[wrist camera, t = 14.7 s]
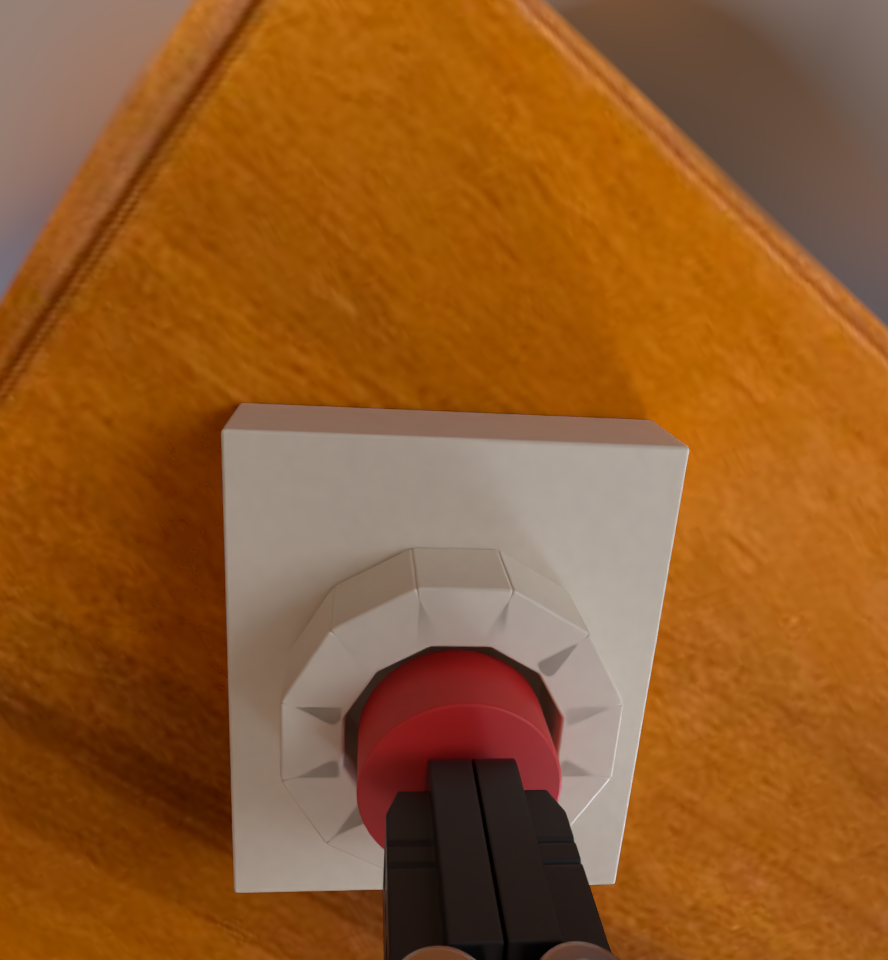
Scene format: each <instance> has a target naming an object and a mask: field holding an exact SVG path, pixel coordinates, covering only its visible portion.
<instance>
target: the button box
mask: <svg viewBox="0 0 888 960" xmlns="http://www.w3.org/2000/svg"><path fill="white" fill-rule="evenodd" d="M221 452H222V487H223V522H224V557H225V592H226V627H227V662H228V697H229V732H230V767H231V803H232V838H233V873H234V890H235V892H237V893H249V892H293V891H337V890H382V889H383V869H384V849H383V848H382V847H381V846H380V845H379V844H378V843H377V842H376V841H375V840H374V839H373V837H372V836H371V835H370V834H369V832H368V830H367V829H366V827H365V825H364V823H363V821H362V818H361V816H360V813H359V809H358V804H357V753H358V728H359V720H360V717H361V713H362V710H363V708H364V705H365V703H366V701H367V699H368V698H369V696H370V694H371V693H372V691H373V690H374V689H375V688H376V686H377V685H378V684H379V683H380V682H381V681H382V680H383V679H384V678H385V677H386V676H387V675H388V674H389V673H391V672H392V671H393V670H395V669H396V668H397V667H399V666H401V665H402V664H404V663H406V662H408V661H410V660H412V659H415V658H417V657H419V656H422V655H426V654H429V653H433V652H439V651H446V650H466V651H474V652H479V653H483V654H486V655H489V656H492V657H495V658H497V659H499V660H501V661H503V662H505V663H506V664H508V665H510V666H511V667H513V668H514V669H515V670H516V671H518V672H519V673H520V674H521V675H522V676H523V677H524V678H525V679H526V680H527V681H528V683H529V684H530V685H531V687H532V689H533V690H534V692H535V694H536V696H537V698H538V700H539V703H540V706H541V709H542V712H543V715H544V718H545V721H546V723H547V726H548V729H549V732H550V735H551V738H552V741H553V744H554V747H555V750H556V753H557V755H558V759H559V763H560V766H561V775H562V783H561V792H560V797H559V801H558V803H559V805H560V806H561V807H562V808H563V809H564V810H565V812H566V814H567V817H568V820H569V823H570V827H571V830H572V833H573V836H574V843H576V845H577V848H578V852H579V855H580V858H581V864H583V867H584V870H585V873H586V876H587V880H588V883H589V885H603V884H614V883H615V879H616V874H617V868H618V862H619V856H620V850H621V844H622V839H623V833H624V827H625V821H626V815H627V809H628V804H629V798H630V792H631V786H632V780H633V775H634V769H635V763H636V757H637V751H638V745H639V740H640V734H641V728H642V722H643V716H644V710H645V705H646V699H647V693H648V687H649V681H650V675H651V670H652V664H653V658H654V652H655V646H656V640H657V635H658V629H659V623H660V617H661V611H662V605H663V600H664V594H665V588H666V582H667V576H668V570H669V565H670V559H671V553H672V547H673V541H674V535H675V530H676V524H677V518H678V512H679V506H680V500H681V495H682V489H683V483H684V477H685V471H686V465H687V460H688V454H689V448H688V446H686V445H685V444H684V443H682V442H681V441H679V440H678V439H677V438H675V437H674V436H673V435H671V434H670V433H668V432H667V431H666V430H664V429H663V428H662V427H660V426H659V425H658V424H656V423H655V422H653V421H652V420H639V419H615V418H591V417H567V416H543V415H520V414H496V413H472V412H448V411H424V410H400V409H376V408H352V407H328V406H304V405H280V404H256V403H241V404H240V405H239V406H238V407H237V409H236V410H235V412H234V413H233V415H232V416H231V417H230V419H229V420H228V422H227V423H226V425H225V426H224V427H223V429H222V431H221Z"/></svg>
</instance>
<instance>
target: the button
mask: <svg viewBox="0 0 888 960" xmlns="http://www.w3.org/2000/svg"><path fill="white" fill-rule="evenodd" d="M491 758H514V759H515V760H516V762H517V765H518V769H519V773H520V777H521V780H522V784H523V788H524V790H547V791H548V792H549V793H550V794H551V795H552V797H553V798H554V799H555V800H556V801H557V802H558V801H559V797H560V792H561V783H562V775H561V766H560V763H559V759H558V755H557V753H556V750H555V747H554V744H553V741H552V738H551V735H550V732H549V729H548V726H547V723H546V721H545V718H544V715H543V712H542V709H541V706H540V703H539V700H538V698H537V696H536V694H535V692H534V690H533V689H532V687H531V685H530V684H529V683H528V681H527V680H526V679H525V678H524V677H523V676H522V675H521V674H520V673H519V672H518V671H516V670H515V669H514V668H513V667H511V666H510V665H508V664H506V663H505V662H503V661H501V660H499V659H497V658H495V657H492V656H489V655H486V654H483V653H479V652H474V651H466V650H446V651H439V652H433V653H429V654H426V655H422V656H419V657H417V658H415V659H412V660H410V661H408V662H406V663H404V664H402V665H401V666H399V667H397V668H396V669H395V670H393V671H392V672H391V673H389V674H388V675H387V676H386V677H385V678H384V679H383V680H382V681H381V682H380V683H379V684H378V685H377V686H376V688H375V689H374V690H373V691H372V693H371V694H370V696H369V698H368V699H367V701H366V703H365V705H364V708H363V710H362V713H361V717H360V720H359V728H358V753H357V804H358V809H359V813H360V816H361V818H362V821H363V823H364V825H365V827H366V829H367V830H368V832H369V834H370V835H371V836H372V837H373V839H374V840H375V841H376V842H377V843H378V844H379V845H380V846H381V847H382V848H383V849H384V848H385V826H386V814H387V812H388V810H389V808H390V806H391V804H392V802H393V800H394V798H395V796H396V795H397V793H398V791H425V786H426V771H427V762H428V759H470V760H471V762H472V759H491Z"/></svg>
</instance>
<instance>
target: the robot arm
mask: <svg viewBox="0 0 888 960" xmlns="http://www.w3.org/2000/svg"><path fill="white" fill-rule="evenodd" d="M383 937H384V960H620V959H619V958H618V957H616V956H615V955H614V954H613V953H612V952H611V949H610V947H609V944H608V942H607V939H606V936H605V932H604V929H603V926H602V923H601V920H600V917H599V914H598V911H597V908H596V904H595V901H594V898H593V895H592V892H591V889H590V886H589V883H588V880H587V876H586V873H585V870H584V867H583V864H581V858H580V855H579V852H578V848H577V845H576V843H574V836H573V833H572V830H571V827H570V823H569V820H568V817H567V814H566V812H565V810H564V809H563V808H562V807H561V806H560V805H559V803H558V802H557V801H556V800H555V799H554V798H553V797H552V795H551V794H550V793H549V792H548V791H547V790H524V788H523V784H522V780H521V777H520V773H519V769H518V765H517V762H516V760H515V759H514V758H491V759H472V762H471V760H470V759H428V762H427V771H426V786H425V791H398V793H397V795H396V796H395V798H394V800H393V802H392V804H391V806H390V808H389V810H388V812H387V814H386V826H385V848H384V869H383Z"/></svg>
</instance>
